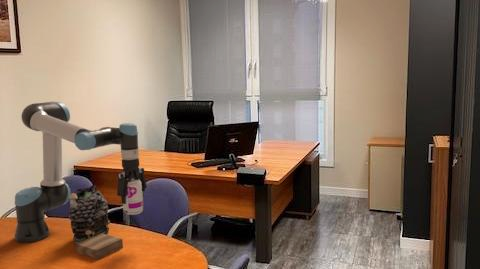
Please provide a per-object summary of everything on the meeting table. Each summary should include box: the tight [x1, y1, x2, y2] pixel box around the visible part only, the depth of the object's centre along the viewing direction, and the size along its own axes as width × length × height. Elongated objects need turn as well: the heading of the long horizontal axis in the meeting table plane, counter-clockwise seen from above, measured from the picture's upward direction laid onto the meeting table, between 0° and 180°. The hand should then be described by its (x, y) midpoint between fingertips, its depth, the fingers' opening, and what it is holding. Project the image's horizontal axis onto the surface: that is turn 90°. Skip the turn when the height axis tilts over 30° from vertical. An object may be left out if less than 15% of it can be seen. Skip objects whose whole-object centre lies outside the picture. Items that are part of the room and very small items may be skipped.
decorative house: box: [68, 184, 111, 244], centre depth 201 cm, size 21×15×25 cm
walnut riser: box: [75, 233, 124, 260], centre depth 187 cm, size 14×14×4 cm
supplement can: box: [123, 179, 144, 216], centre depth 190 cm, size 8×8×15 cm
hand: (133, 207), depth 191 cm, fingers closed on supplement can, 8 cm apart
